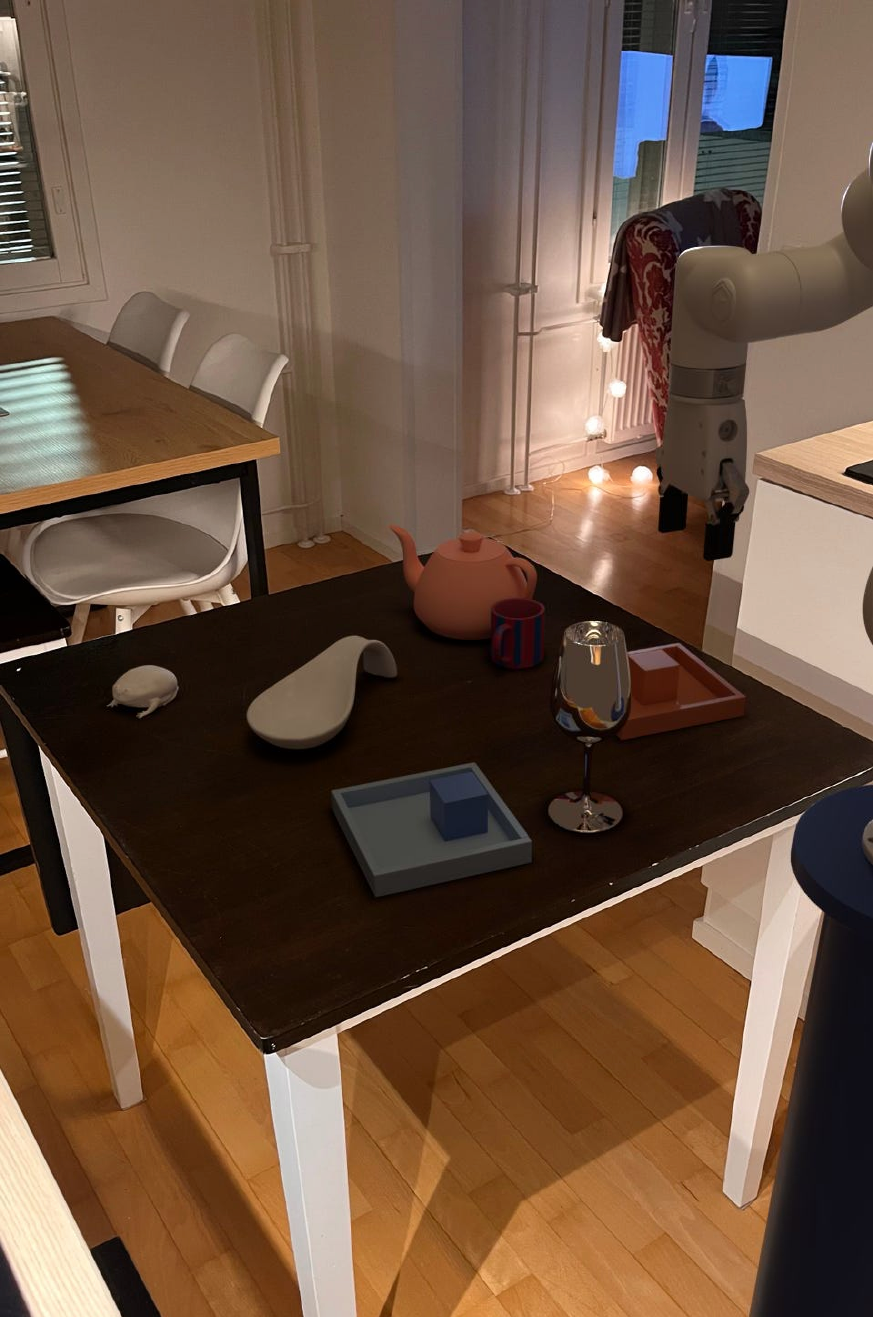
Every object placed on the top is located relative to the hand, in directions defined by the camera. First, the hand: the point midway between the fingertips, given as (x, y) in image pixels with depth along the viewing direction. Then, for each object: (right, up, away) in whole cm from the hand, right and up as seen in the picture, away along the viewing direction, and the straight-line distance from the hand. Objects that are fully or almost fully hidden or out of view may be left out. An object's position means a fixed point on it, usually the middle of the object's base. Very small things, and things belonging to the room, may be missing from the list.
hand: (694, 544), depth 128 cm
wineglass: (-13, -29, -8) cm, 33 cm away
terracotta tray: (-2, -16, +13) cm, 21 cm away
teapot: (-24, -4, +33) cm, 41 cm away
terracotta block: (-2, -15, +13) cm, 20 cm away
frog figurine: (-63, -16, +16) cm, 67 cm away
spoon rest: (-40, -18, +12) cm, 46 cm away
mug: (-18, -11, +22) cm, 31 cm away
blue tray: (-29, -31, -10) cm, 43 cm away
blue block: (-26, -30, -10) cm, 41 cm away
